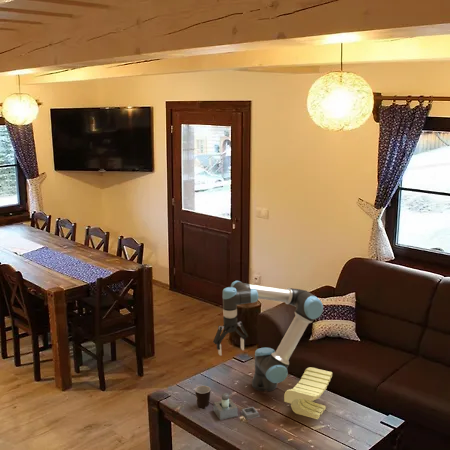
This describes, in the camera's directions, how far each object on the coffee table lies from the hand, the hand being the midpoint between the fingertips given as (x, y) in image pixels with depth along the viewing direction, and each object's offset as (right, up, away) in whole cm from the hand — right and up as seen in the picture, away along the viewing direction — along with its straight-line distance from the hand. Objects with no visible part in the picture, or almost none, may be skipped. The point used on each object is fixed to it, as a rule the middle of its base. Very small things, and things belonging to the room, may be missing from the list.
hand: (231, 352), depth 312 cm
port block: (-3, -33, -5) cm, 34 cm away
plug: (-3, -33, -5) cm, 34 cm away
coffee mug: (-15, -31, +6) cm, 35 cm away
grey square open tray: (+10, -33, -6) cm, 35 cm away
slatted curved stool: (+42, -32, 0) cm, 53 cm away
